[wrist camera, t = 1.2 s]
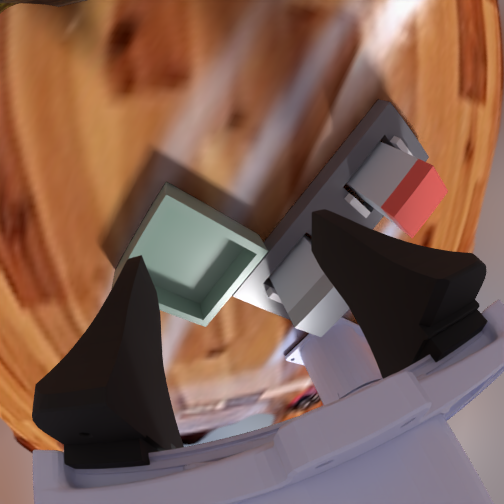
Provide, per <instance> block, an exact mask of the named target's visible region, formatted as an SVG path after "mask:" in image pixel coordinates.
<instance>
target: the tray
mask: <svg viewBox="0 0 504 504" xmlns="http://www.w3.org/2000/svg"><path fill="white" fill-rule="evenodd" d="M267 252H268V250H267V248H266V246H265V245H264V243H263V241H262V239H261V238H260V236H259V235H258V234H257V233H255V232H253V231H252V230H250V229H248V228H246V227H245V226H243V225H241V224H240V223H238V222H236V221H234V220H233V219H231V218H229V217H227V216H226V215H224V214H222V213H221V212H219V211H217V210H215V209H214V208H212V207H210V206H208V205H207V204H205V203H203V202H201V201H200V200H198V199H196V198H194V197H193V196H191V195H189V194H187V193H186V192H184V191H182V190H180V189H179V188H177V187H175V186H173V185H171V184H170V183H168V182H166V183H165V185H164V186H163V188H162V189H161V191H160V193H159V194H158V196H157V197H156V199H155V201H154V202H153V204H152V206H151V207H150V209H149V211H148V212H147V214H146V216H145V217H144V219H143V221H142V222H141V224H140V226H139V228H138V229H137V231H136V233H135V235H134V236H133V238H132V240H131V242H130V243H129V245H128V247H127V249H126V251H125V253H124V254H123V256H122V258H121V260H120V262H119V264H118V266H117V268H116V270H115V273H114V279H113V284H112V288H113V286H114V284H115V282H116V280H117V278H118V276H119V274H120V272H121V270H122V269H123V267H124V265H125V263H126V261H127V259H129V258H132V257H136V256H140V255H142V257H143V260H144V262H145V265H146V267H147V270H148V272H149V274H150V277H151V279H152V282H153V284H154V286H155V289H156V291H157V296H158V302H159V309H160V310H161V311H164V312H167V313H169V314H172V315H174V316H177V317H180V318H182V319H185V320H188V321H191V322H193V323H196V324H199V325H202V326H205V327H206V326H207V325H208V323H209V322H210V321H211V320H212V319H213V317H214V316H215V315H216V314H217V313H218V311H219V310H220V309H221V308H222V307H223V305H224V304H225V303H226V302H227V301H228V299H229V298H230V297H231V296H232V295H233V293H234V292H235V291H236V290H237V289H238V287H239V286H240V285H241V284H242V283H243V281H244V280H245V279H246V278H247V277H248V275H249V274H250V273H251V272H252V270H253V269H254V268H255V267H256V266H257V264H258V263H259V262H260V261H261V260H262V258H263V257H264V256H265V255H266V253H267Z"/></svg>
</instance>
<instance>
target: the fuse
mask: <svg viewBox="0 0 504 504" xmlns="http://www.w3.org/2000/svg"><path fill="white" fill-rule="evenodd" d="M269 278H270V280H271V282H272V284H273V286H274V288H275V290H276V292H277V294H278V295H279V297H280V299H281V301H282V303H283V305H284V307H285V309H286V311H287V313H288V315H289V317H290V319H291V321H292V323H293V325H294V327H295V328H297V329H299V330H302V331H305V332H308V333H310V334H313V335H316V336H319V337H322V336H323V335H324V334H325V333H326V332H327V331H328V330H329V329H330V328H331V327H332V326H333V325H334V324H335V323H336V322H337V321H338V320H339V319H340V318H341V317H342V316H343V315H344V314H345V313H346V312H347V311H348V310H349V309H350V308H349V307H348V305H347V304H346V302H345V301H344V299H343V298H342V297H341V295H340V294H339V293H338V291H337V290H336V289H335V287H334V286H333V284H332V283H331V282H330V280H329V279H328V278H327V276H326V275H325V274H324V272H323V271H322V269H321V268H320V266H319V264H318V262H317V261H316V259H315V257H314V255H313V253H312V251H311V238H309V237H308V236H306V235H305V234H304V235H303V237H302V238H301V239H300V240H299V241H298V243H297V244H296V245H295V246H294V247H293V249H292V250H291V251H290V252H289V253H288V255H287V256H286V257H285V258H284V259H283V261H282V262H281V263H280V264H279V265H278V266H277V268H276V269H275V270H274V271H273V272H272V273H271V275H270V276H269Z"/></svg>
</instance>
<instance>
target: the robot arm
mask: <svg viewBox="0 0 504 504" xmlns="http://www.w3.org/2000/svg"><path fill="white" fill-rule="evenodd" d="M311 251H312V253H313V255H314V257H315V259H316V261H317V262H318V264H319V266H320V268H321V269H322V271H323V272H324V274H325V275H326V276H327V278H328V279H329V280H330V282H331V283H332V284H333V286H334V287H335V289H336V290H337V291H338V293H339V294H340V295H341V297H342V298H343V299H344V301H345V302H346V304H347V305H348V307H349V308H350V310H351V311H352V313H353V315H354V317H355V319H356V320H357V322H358V324H359V325H358V324H356V323H353V322H351V321H349V320H347V319H345V318H343V317H341V318H340V319H339V320H338V321H337V322H336V323H335V324H334V325H333V326H332V327H331V328H330V329H329V330H328V331H327V332H326V333H325V334H324V335H323V336H322V337H319V336H316V335H313V334H310V333H309V334H308V335H307V336H306V337H305V338H304V339H303V340H302V341H301V342H300V343H299V344H298V345H297V346H296V347H295V348H294V349H293V350H292V351H290V352H289V353H288V354H287V355H286V356H285V359H286V361H289V362H293V363H297V364H301V365H305V367H306V369H307V371H308V373H309V375H310V378H311V380H312V382H313V384H314V386H315V388H316V390H317V392H318V394H319V396H320V398H321V400H322V403H323V405H324V406H321V407H319V408H316V409H314V410H311V411H309V412H307V413H305V414H303V415H300V416H298V417H295V418H292V419H289V420H286V421H283V422H280V423H277V424H274V425H271V426H268V427H265V428H261V429H258V430H254V431H251V432H247V433H244V434H240V435H236V436H233V437H229V438H225V439H220V440H216V441H212V442H207V443H203V444H198V445H194V446H188V447H184V446H183V443H182V440H181V437H180V433H179V430H178V427H177V423H176V420H175V416H174V413H173V409H172V405H171V401H170V396H169V392H168V388H167V383H166V378H165V373H164V367H163V358H162V341H161V320H160V309H159V302H158V296H157V291H156V289H155V286H154V284H153V282H152V279H151V277H150V274H149V272H148V270H147V267H146V265H145V262H144V260H143V257H142V255H140V256H136V257H132V258H129V259H127V261H126V263H125V265H124V267H123V269H122V270H121V272H120V274H119V276H118V278H117V280H116V282H115V284H114V286H113V288H112V290H111V292H110V294H109V295H108V297H107V299H106V301H105V302H104V304H103V306H102V308H101V309H100V311H99V313H98V314H97V316H96V317H95V319H94V320H93V322H92V323H91V325H90V326H89V327H88V329H87V330H86V332H85V333H84V334H83V335H82V337H81V338H80V339H79V340H78V342H77V343H76V344H75V345H74V347H73V348H72V349H71V350H70V351H69V353H68V354H67V355H66V356H65V357H64V358H63V359H62V360H61V361H60V362H59V363H58V364H57V365H56V366H55V367H54V368H53V369H52V370H51V371H50V372H49V373H48V374H47V375H46V376H45V377H43V378H42V379H41V380H40V381H39V382H38V383H37V384H36V387H35V394H34V402H33V412H32V418H33V421H34V423H35V424H36V425H37V427H38V428H40V429H41V430H42V431H43V432H45V433H47V434H48V435H50V436H51V437H53V438H54V439H56V440H58V441H59V442H61V443H62V444H64V452H61V451H57V450H33V488H34V489H33V490H34V504H494V503H493V501H492V499H491V497H490V495H489V494H488V492H487V490H486V488H485V486H484V484H483V482H482V481H481V479H480V477H479V475H478V473H477V472H476V470H475V468H474V466H473V465H472V463H471V461H470V459H469V458H468V456H467V455H466V453H465V451H464V449H463V448H462V446H461V444H460V443H459V441H458V439H457V438H456V436H455V434H454V433H453V431H452V430H451V428H450V427H449V425H448V423H447V420H448V419H450V418H451V417H452V416H453V415H455V414H456V413H457V412H459V411H460V410H461V409H462V408H463V407H465V406H466V405H467V404H468V403H469V402H470V401H472V400H473V399H474V398H475V397H476V396H478V395H479V393H481V392H482V391H483V390H484V389H485V388H486V387H488V386H489V385H490V384H491V383H492V382H493V381H494V380H495V379H496V378H497V377H498V376H499V375H500V374H502V372H504V304H503V303H502V302H501V301H500V300H497V301H495V302H494V303H493V304H492V305H490V306H489V307H487V308H486V309H485V310H484V311H483V313H482V314H481V313H480V312H479V311H478V310H477V309H478V307H479V303H478V302H477V301H476V300H475V298H476V296H477V294H478V292H479V290H480V288H481V286H482V284H483V281H484V279H485V276H486V265H485V264H484V263H483V262H482V261H481V260H480V259H479V258H477V257H476V256H475V255H474V254H472V253H463V252H452V251H445V250H439V249H434V248H429V247H424V246H420V245H416V244H412V243H409V242H405V241H402V240H399V239H396V238H393V237H390V236H387V235H385V234H382V233H380V232H377V231H375V230H372V229H370V228H368V227H365V226H363V225H361V224H359V223H356V222H354V221H352V220H350V219H347V218H345V217H343V216H341V215H339V214H336V213H334V212H331V211H329V210H326V209H322V210H318V211H313V212H312V232H311Z"/></svg>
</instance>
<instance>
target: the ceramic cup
mask: <svg viewBox="0 0 504 504" xmlns="http://www.w3.org/2000/svg"><path fill="white" fill-rule="evenodd" d="M81 1H86V0H0V13H1V12H2V11H4V10H5V9H7V8H8V7H10V6H13V5H15V4H18V3H31V4H46V5H52V6H57V7H60V6H64V5H68V4H72V3H77V2H81Z"/></svg>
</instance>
